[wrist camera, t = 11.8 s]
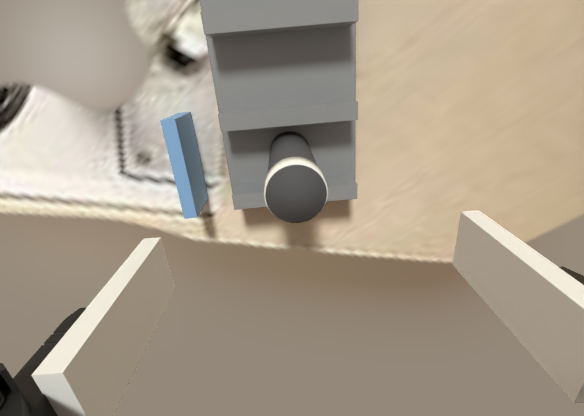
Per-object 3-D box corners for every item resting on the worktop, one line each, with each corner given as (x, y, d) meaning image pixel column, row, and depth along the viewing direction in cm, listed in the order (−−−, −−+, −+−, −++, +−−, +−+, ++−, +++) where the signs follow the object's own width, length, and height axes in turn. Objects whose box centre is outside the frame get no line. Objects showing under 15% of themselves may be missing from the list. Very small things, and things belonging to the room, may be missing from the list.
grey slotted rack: (353, -115, 24) (366, -148, 20) (353, 188, 34) (362, 202, 30) (185, -100, 24) (168, -131, 20) (235, 199, 34) (230, 214, 30)
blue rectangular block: (190, 111, 30) (174, 119, 26) (208, 197, 34) (197, 217, 29) (178, 113, 30) (160, 120, 26) (197, 198, 34) (184, 218, 29)
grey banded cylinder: (309, 128, 30) (327, 161, 19) (311, 169, 32) (329, 221, 21) (266, 132, 30) (260, 166, 19) (271, 173, 32) (267, 226, 21)
